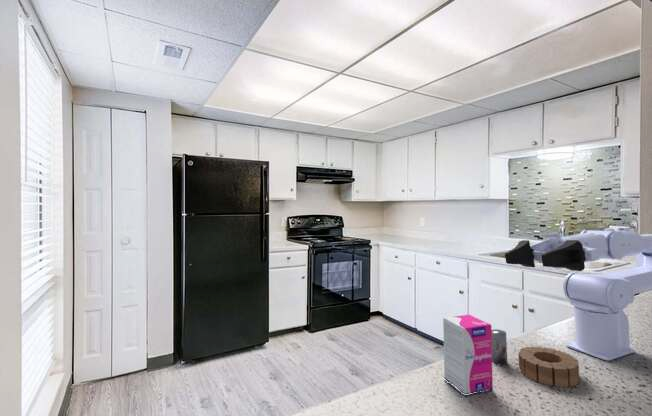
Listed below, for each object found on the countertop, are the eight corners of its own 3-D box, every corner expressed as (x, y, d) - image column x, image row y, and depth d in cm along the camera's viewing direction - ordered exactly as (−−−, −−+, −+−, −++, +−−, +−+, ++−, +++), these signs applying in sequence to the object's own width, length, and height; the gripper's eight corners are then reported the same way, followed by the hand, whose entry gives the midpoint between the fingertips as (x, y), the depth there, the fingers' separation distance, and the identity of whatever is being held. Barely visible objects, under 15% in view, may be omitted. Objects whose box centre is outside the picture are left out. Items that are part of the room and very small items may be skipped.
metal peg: (498, 357, 67) (497, 328, 67) (510, 363, 64) (509, 333, 64) (488, 360, 66) (487, 330, 66) (500, 366, 63) (499, 335, 63)
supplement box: (465, 398, 54) (462, 328, 54) (443, 380, 59) (441, 317, 59) (495, 391, 55) (492, 323, 55) (470, 374, 61) (468, 313, 61)
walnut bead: (541, 358, 66) (540, 343, 66) (591, 379, 58) (590, 362, 58) (508, 367, 63) (508, 352, 63) (556, 391, 54) (555, 373, 54)
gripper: (536, 231, 74) (490, 238, 69) (610, 229, 60) (559, 238, 55) (541, 262, 73) (495, 272, 68) (617, 267, 60) (566, 280, 55)
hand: (524, 259), depth 62 cm, fingers open, 7 cm apart
